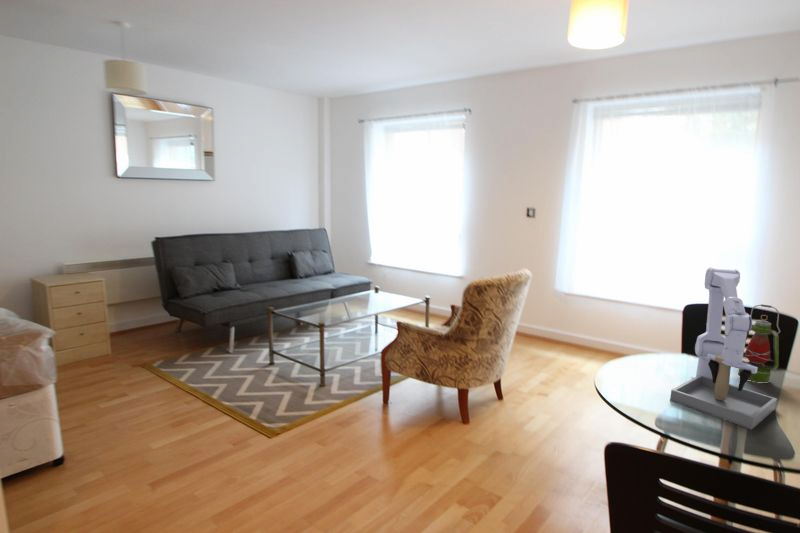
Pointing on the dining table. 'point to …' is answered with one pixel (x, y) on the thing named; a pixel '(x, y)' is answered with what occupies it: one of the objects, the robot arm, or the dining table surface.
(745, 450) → the dining table surface
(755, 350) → the lantern
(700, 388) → the bin
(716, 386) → the handle
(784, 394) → the dining table surface
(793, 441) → the dining table surface
